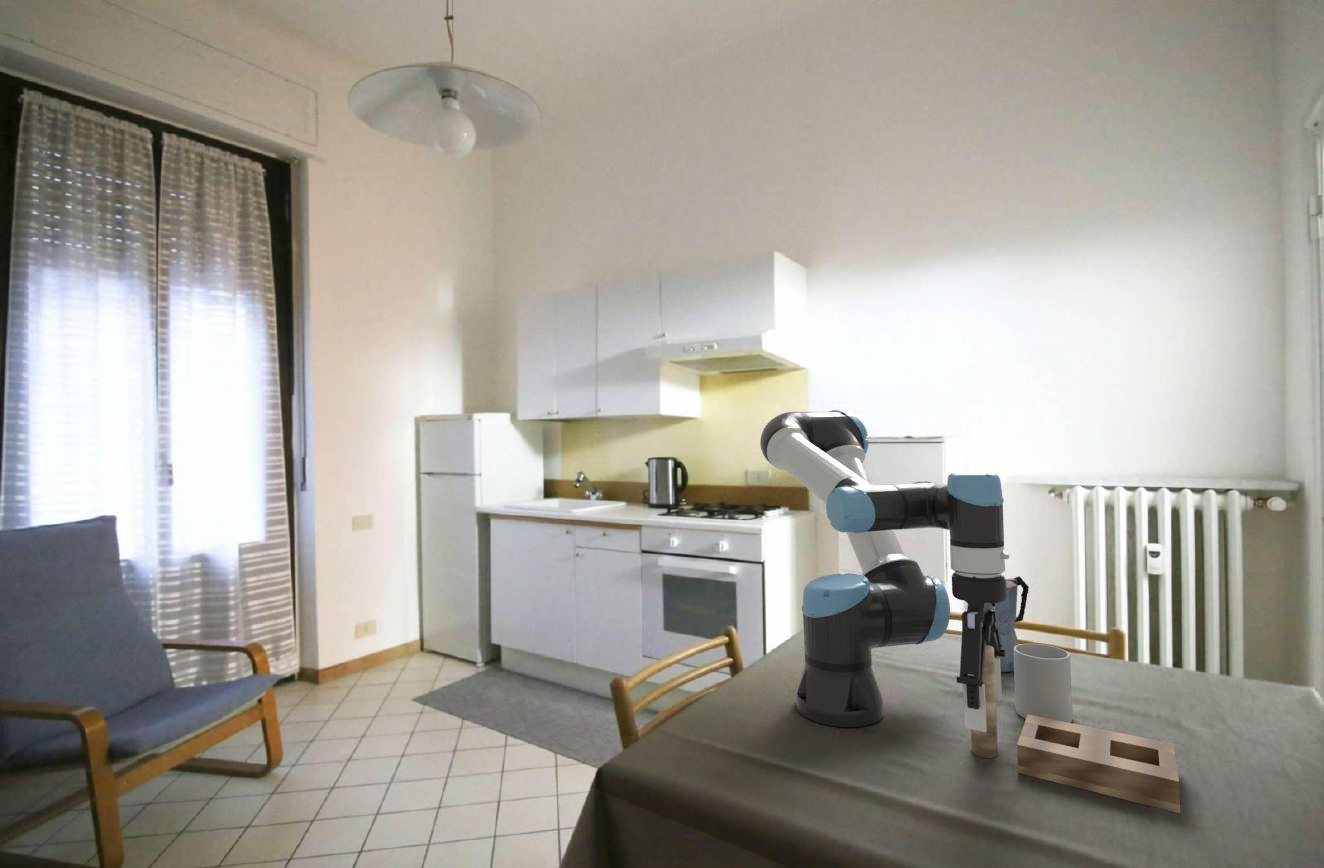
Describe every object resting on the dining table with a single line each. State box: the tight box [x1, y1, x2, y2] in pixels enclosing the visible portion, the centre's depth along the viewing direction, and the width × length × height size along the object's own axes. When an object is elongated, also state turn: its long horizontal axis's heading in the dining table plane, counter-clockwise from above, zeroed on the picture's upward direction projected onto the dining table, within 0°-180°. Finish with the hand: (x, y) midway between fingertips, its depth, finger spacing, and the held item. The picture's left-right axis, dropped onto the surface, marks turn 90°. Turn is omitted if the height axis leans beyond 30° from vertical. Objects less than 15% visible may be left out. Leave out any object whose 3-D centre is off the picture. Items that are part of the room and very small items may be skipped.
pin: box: [968, 644, 999, 759], centre depth 97 cm, size 4×4×16 cm
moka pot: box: [996, 576, 1029, 673], centre depth 133 cm, size 10×15×20 cm, turn 107°
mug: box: [1013, 643, 1074, 723], centre depth 111 cm, size 12×8×11 cm
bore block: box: [1016, 714, 1181, 814], centre depth 90 cm, size 18×12×4 cm, turn 54°
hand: (984, 712), depth 96 cm, fingers open, 13 cm apart
